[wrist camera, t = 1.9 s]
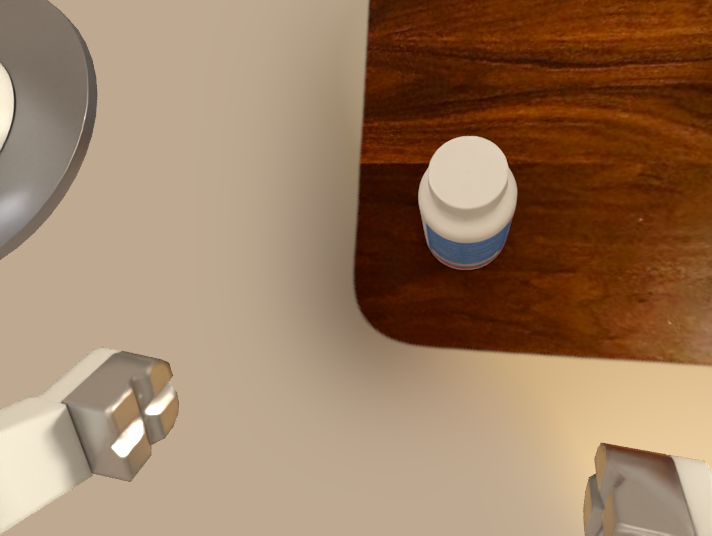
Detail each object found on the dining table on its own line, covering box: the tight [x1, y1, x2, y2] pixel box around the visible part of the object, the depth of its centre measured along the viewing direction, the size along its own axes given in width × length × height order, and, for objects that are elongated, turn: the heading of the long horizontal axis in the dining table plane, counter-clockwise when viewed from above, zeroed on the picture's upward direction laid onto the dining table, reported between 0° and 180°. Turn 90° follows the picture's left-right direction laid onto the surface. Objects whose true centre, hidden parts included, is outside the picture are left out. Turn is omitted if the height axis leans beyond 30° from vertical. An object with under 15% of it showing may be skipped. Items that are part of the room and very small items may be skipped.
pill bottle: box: [418, 136, 517, 270], centre depth 31 cm, size 6×5×10 cm
